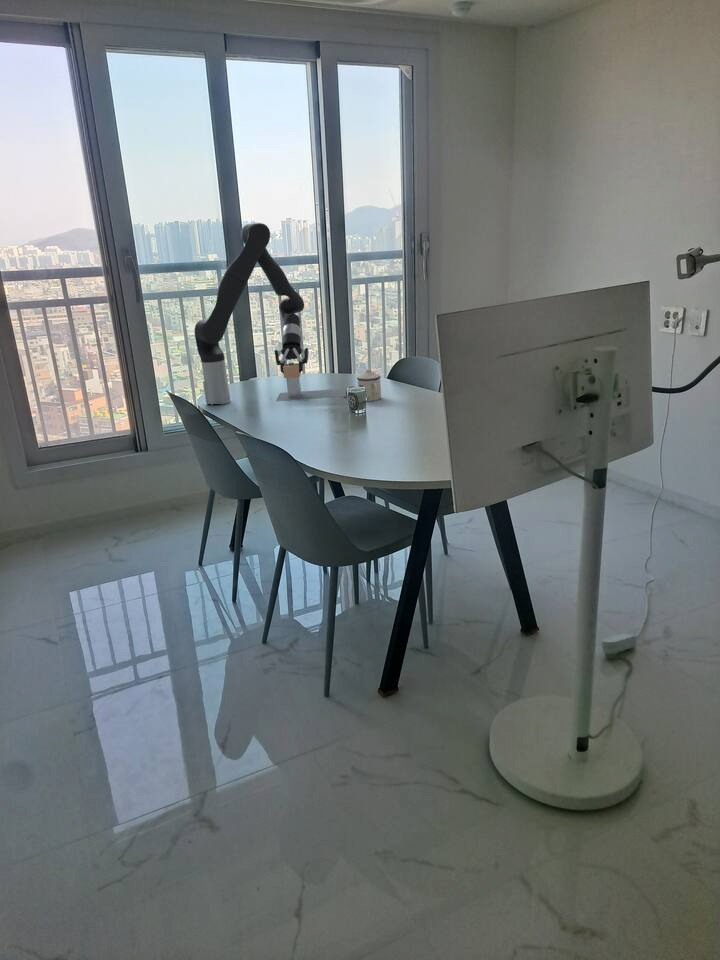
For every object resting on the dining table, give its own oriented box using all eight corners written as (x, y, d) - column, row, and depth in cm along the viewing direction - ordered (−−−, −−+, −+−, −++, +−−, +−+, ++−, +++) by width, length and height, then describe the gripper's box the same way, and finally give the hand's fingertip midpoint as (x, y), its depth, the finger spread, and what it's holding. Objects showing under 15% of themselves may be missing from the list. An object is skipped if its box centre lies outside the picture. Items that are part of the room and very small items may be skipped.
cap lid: (284, 378, 262) (282, 364, 260) (285, 375, 268) (284, 362, 266) (299, 377, 262) (298, 364, 260) (300, 374, 268) (299, 361, 266)
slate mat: (276, 402, 262) (275, 401, 261) (280, 394, 275) (279, 392, 275) (346, 397, 261) (346, 396, 261) (346, 389, 274) (346, 388, 274)
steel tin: (288, 397, 266) (285, 375, 262) (289, 394, 270) (287, 373, 267) (300, 396, 265) (298, 374, 262) (301, 393, 270) (299, 372, 267)
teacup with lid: (355, 398, 259) (353, 369, 255) (376, 394, 262) (374, 365, 258) (366, 404, 249) (364, 374, 244) (388, 401, 251) (386, 370, 247)
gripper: (272, 333, 266) (272, 367, 259) (308, 330, 266) (308, 365, 259) (275, 344, 273) (275, 378, 266) (310, 342, 273) (310, 376, 266)
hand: (291, 371), depth 263 cm, fingers closed on cap lid, 6 cm apart
